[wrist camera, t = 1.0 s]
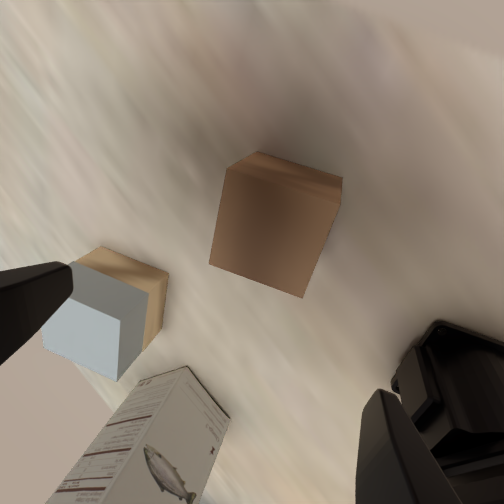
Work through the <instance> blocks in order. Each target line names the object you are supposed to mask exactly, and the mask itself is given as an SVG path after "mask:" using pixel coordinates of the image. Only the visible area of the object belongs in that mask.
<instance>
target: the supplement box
mask: <svg viewBox="0 0 504 504" xmlns="http://www.w3.org/2000/svg"><path fill="white" fill-rule="evenodd" d="M229 423H230V419H229V418H228V417H227V416H226V415H225V414H224V413H223V412H222V410H221V409H220V408H219V407H218V406H217V405H216V403H215V402H214V401H213V400H212V398H211V397H210V396H209V395H208V393H207V392H206V391H205V390H204V388H203V387H202V386H201V384H200V383H199V382H198V381H197V379H196V378H195V377H194V375H193V374H192V373H191V371H190V370H189V369H188V368H187V367H184V368H180V369H177V370H174V371H171V372H168V373H164V374H161V375H158V376H155V377H152V378H149V379H146V380H143V381H140V382H139V383H138V384H137V385H136V386H135V388H134V389H133V390H132V391H131V393H130V394H129V395H128V397H127V398H126V399H125V401H124V402H123V403H122V404H121V405H120V407H119V408H118V409H117V411H116V412H115V413H114V414H113V416H112V417H111V418H110V420H109V421H108V422H107V424H106V425H105V426H104V428H103V429H102V430H101V431H100V433H99V434H98V435H97V437H96V438H95V439H94V441H93V442H92V443H91V444H90V446H89V447H88V448H87V450H86V451H85V452H84V454H83V455H82V456H81V458H80V459H79V460H78V462H77V463H76V464H75V466H74V467H73V468H72V469H71V471H70V472H69V473H68V475H67V476H66V477H65V479H64V480H63V481H62V483H61V484H60V485H59V487H58V488H57V489H56V491H55V492H54V493H53V494H52V496H51V497H50V498H49V500H48V501H47V502H46V503H45V504H199V501H200V499H201V496H202V493H203V491H204V488H205V486H206V483H207V480H208V478H209V475H210V472H211V470H212V467H213V465H214V462H215V459H216V457H217V454H218V452H219V449H220V446H221V444H222V441H223V438H224V436H225V433H226V430H227V428H228V425H229Z"/></svg>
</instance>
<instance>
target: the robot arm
mask: <svg viewBox="0 0 504 504" xmlns="http://www.w3.org/2000/svg"><path fill="white" fill-rule="evenodd" d="M73 289H74V285H73V274H72V268H71V267H70V266H69V265H66V264H64V263H61V262H58V261H55V262H49V263H44V264H38V265H32V266H27V267H21V268H16V269H10V270H5V271H0V365H1V364H3V363H4V362H5V361H6V360H7V359H8V358H9V357H10V356H11V355H13V354H14V353H15V352H16V351H17V350H18V349H19V348H20V347H21V346H23V345H24V344H25V343H26V342H27V341H28V340H29V339H30V338H31V337H32V336H33V335H34V334H35V333H36V332H37V331H38V330H39V329H40V328H41V327H42V326H43V325H44V324H45V323H46V322H47V321H48V319H49V318H50V317H51V316H52V315H53V314H54V313H55V312H56V311H57V310H58V309H59V308H60V307H61V305H62V304H63V303H64V302H65V301H66V300H67V299H68V298H69V297H70V296H71V294H72V292H73ZM442 328H443V329H444V330H443V331H438V330H439V329H442ZM396 373H397V374H396V375H395V377H394V378H393V379H392V381H391V388H392V390H393V391H394V392H395V393H398V394H400V396H401V402H402V404H401V402H400V401H399V399H398V398H397V396H396V395H395V394H393V393H391V392H388V391H386V390H383V389H377V390H376V391H375V392H374V394H373V395H372V397H371V398H370V400H369V401H368V402H367V404H366V405H365V407H364V409H363V412H362V419H361V429H360V439H359V449H358V459H357V469H356V489H355V498H356V504H504V342H501V341H498V340H495V339H492V338H490V337H487V336H484V335H481V334H478V333H476V332H473V331H470V330H467V329H464V328H461V327H459V326H456V325H453V324H450V323H447V322H444V321H437V322H435V323H433V324H432V326H431V327H430V328H429V330H428V331H427V333H426V334H425V335H424V337H423V338H422V339H421V341H420V342H419V344H418V345H416V346H414V347H413V348H412V349H411V351H410V352H409V353H408V355H407V356H406V358H405V359H404V360H403V362H402V363H401V365H400V366H399V367H398V369H397V370H396Z"/></svg>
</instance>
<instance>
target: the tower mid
mask: <svg viewBox="0 0 504 504" xmlns="http://www.w3.org/2000/svg"><path fill="white" fill-rule="evenodd" d="M68 265H69V266H70V267H71V268H72V274H73V285H74V289H73V292H72V294H71V296H70V297H69V298H68V299H67V300H66V301H65V302H64V303H63V304H62V305H61V307H60V308H59V309H58V310H57V311H56V312H55V313H54V314H53V315H52V316H51V317H50V318H49V319H48V321H47V322H46V323H45V324H44V325H43V326H42V327H41V329H42V337H43V345H44V348H45V349H47V350H50V351H52V352H54V353H56V354H58V355H60V356H62V357H64V358H67V359H69V360H71V361H73V362H75V363H77V364H79V365H81V366H84V367H86V368H88V369H90V370H92V371H94V372H96V373H98V374H101V375H103V376H105V377H107V378H109V379H111V380H113V381H116V382H117V381H118V380H119V379H120V377H121V376H122V375H123V374H124V373H125V371H126V370H127V369H128V368H129V366H130V365H131V364H132V363H133V362H134V360H135V359H136V358H137V357H138V356H139V354H140V353H141V352H142V347H143V338H144V330H145V321H146V313H147V305H148V296H149V293H147V292H145V291H143V290H140V289H138V288H136V287H133V286H131V285H129V284H126V283H124V282H122V281H119V280H117V279H114V278H112V277H110V276H107V275H105V274H103V273H100V272H98V271H96V270H93V269H91V268H89V267H86V266H84V265H81V264H79V263H77V262H74V261H73V262H71V263H70V264H68Z"/></svg>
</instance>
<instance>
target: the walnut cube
mask: <svg viewBox="0 0 504 504" xmlns="http://www.w3.org/2000/svg"><path fill="white" fill-rule="evenodd" d="M341 191H342V177H338V176H335V175H332V174H329V173H325V172H322V171H319V170H315V169H312V168H309V167H306V166H302V165H299V164H296V163H293V162H289V161H286V160H283V159H280V158H276V157H273V156H270V155H267V154H263V153H260V152H255V153H253V154H252V155H250V156H248V157H246V158H244V159H243V160H241V161H239V162H237V163H235V164H234V165H232V166H230V167H228V168H227V170H226V175H225V180H224V186H223V191H222V196H221V201H220V207H219V212H218V217H217V222H216V228H215V233H214V238H213V244H212V249H211V254H210V259H209V264H210V265H213V266H216V267H218V268H221V269H224V270H226V271H229V272H232V273H235V274H237V275H240V276H243V277H245V278H248V279H251V280H254V281H256V282H259V283H262V284H264V285H267V286H270V287H273V288H275V289H278V290H281V291H284V292H286V293H289V294H292V295H294V296H297V297H300V298H303V295H304V293H305V291H306V288H307V286H308V283H309V281H310V278H311V276H312V273H313V271H314V268H315V266H316V263H317V261H318V259H319V256H320V254H321V251H322V249H323V246H324V244H325V241H326V239H327V236H328V234H329V231H330V229H331V227H332V224H333V222H334V219H335V217H336V214H337V212H338V209H339V207H340V204H341Z"/></svg>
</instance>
